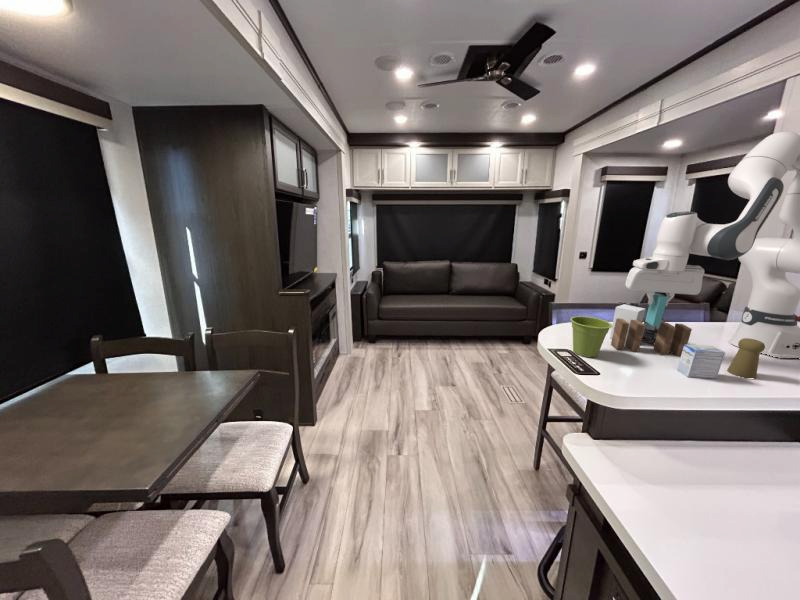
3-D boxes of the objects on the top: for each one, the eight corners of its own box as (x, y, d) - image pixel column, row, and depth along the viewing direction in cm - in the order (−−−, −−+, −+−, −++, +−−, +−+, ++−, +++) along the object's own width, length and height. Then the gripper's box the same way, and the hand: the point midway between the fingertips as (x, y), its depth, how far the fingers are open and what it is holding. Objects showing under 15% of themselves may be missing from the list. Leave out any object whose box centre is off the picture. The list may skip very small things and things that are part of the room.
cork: (750, 380, 91) (763, 345, 88) (722, 371, 96) (734, 337, 93) (760, 376, 93) (772, 342, 90) (732, 367, 98) (744, 334, 95)
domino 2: (631, 346, 112) (637, 320, 110) (637, 352, 108) (644, 324, 105) (624, 345, 113) (630, 319, 110) (631, 351, 108) (638, 324, 105)
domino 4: (659, 349, 111) (667, 322, 108) (668, 355, 106) (675, 327, 103) (653, 348, 111) (660, 322, 108) (661, 354, 106) (668, 326, 104)
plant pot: (598, 348, 110) (605, 318, 107) (610, 363, 99) (618, 329, 96) (561, 344, 113) (566, 314, 110) (569, 358, 102) (575, 325, 99)
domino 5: (674, 351, 110) (682, 323, 107) (683, 357, 105) (691, 329, 102) (668, 350, 110) (675, 323, 107) (676, 356, 105) (684, 328, 103)
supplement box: (639, 340, 118) (647, 308, 115) (630, 344, 114) (638, 311, 111) (617, 334, 124) (624, 303, 121) (608, 338, 120) (615, 306, 116)
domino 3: (651, 321, 109) (659, 293, 106) (659, 326, 104) (667, 297, 101) (645, 321, 109) (652, 293, 107) (652, 326, 105) (660, 296, 102)
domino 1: (616, 345, 113) (622, 318, 111) (623, 350, 109) (629, 323, 106) (610, 344, 114) (616, 318, 111) (616, 350, 109) (622, 322, 106)
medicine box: (704, 372, 95) (712, 345, 93) (717, 379, 91) (726, 351, 88) (676, 370, 96) (683, 343, 93) (687, 377, 91) (695, 350, 89)
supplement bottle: (647, 337, 122) (654, 309, 119) (663, 343, 116) (671, 314, 113) (635, 338, 120) (642, 310, 117) (651, 344, 114) (659, 315, 111)
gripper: (699, 264, 102) (687, 305, 106) (628, 260, 106) (619, 300, 110) (713, 267, 96) (700, 310, 100) (637, 263, 100) (627, 304, 104)
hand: (657, 305), depth 105 cm, fingers closed on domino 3, 2 cm apart
